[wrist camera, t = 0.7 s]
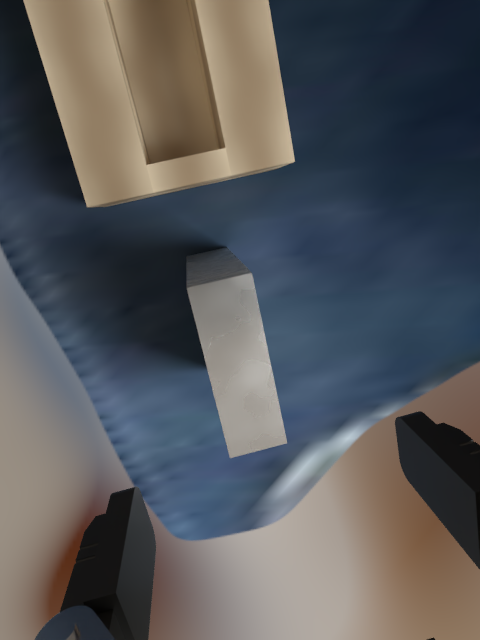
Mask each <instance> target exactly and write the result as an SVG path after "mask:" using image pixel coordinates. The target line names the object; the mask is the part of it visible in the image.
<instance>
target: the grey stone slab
mask: <svg viewBox="0 0 480 640" xmlns="http://www.w3.org/2000/svg"><path fill="white" fill-rule="evenodd" d="M186 277H187V291H188V295H189V299H190V303H191V307H192V311H193V315H194V319H195V323H196V327H197V331H198V334H199V338H200V342H201V346H202V350H203V354H204V358H205V362H206V366H207V370H208V374H209V377H210V381H211V385H212V389H213V393H214V397H215V401H216V405H217V409H218V413H219V417H220V420H221V424H222V428H223V432H224V436H225V440H226V444H227V448H228V452H229V456H230V458H233V457H236V456H240V455H244V454H248V453H252V452H255V451H259V450H263V449H267V448H271V447H274V446H278V445H282V444H286V443H287V440H286V435H285V430H284V426H283V421H282V416H281V411H280V406H279V402H278V397H277V392H276V387H275V382H274V377H273V373H272V368H271V363H270V358H269V353H268V349H267V344H266V339H265V334H264V329H263V324H262V320H261V315H260V310H259V305H258V300H257V296H256V291H255V286H254V281H253V276H252V273H251V272H250V270H249V269H248V268H247V267H246V266H245V265H244V264H243V263H242V262H241V261H240V260H239V259H238V258H237V257H236V256H235V255H234V254H233V253H232V252H231V251H230V250H229V249H228V248H227V247H225V248H221V249H217V250H212V251H208V252H204V253H199V254H195V255H191V256H186Z"/></svg>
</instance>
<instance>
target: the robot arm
mask: <svg viewBox="0 0 480 640" xmlns="http://www.w3.org/2000/svg"><path fill="white" fill-rule="evenodd" d="M395 426H396V434H397V442H398V450H399V459H400V463H401V467H402V469H403V472H404V474H405V476H406V478H407V480H408V481H409V482H410V484H411V485H412V486H413V487H414V488H415V490H416V491H417V492H418V494H419V495H420V496H421V497H422V499H423V500H424V501H425V502H426V503H427V505H428V506H429V507H430V508H431V510H432V511H433V512H434V513H435V514H436V516H437V517H438V518H439V520H440V521H441V522H442V523H443V525H444V526H445V527H446V528H447V530H448V531H449V532H450V533H451V535H452V536H453V537H454V538H455V539H456V541H457V542H458V543H459V545H460V546H461V547H462V548H463V549H464V551H465V552H466V553H467V554H468V556H469V557H470V558H471V559H472V561H473V562H474V563H475V564H476V566H477V567H478V568H479V569H480V445H479V444H477V443H476V442H473V440H472V439H471V438H470V437H469V436H468V435H466V434H465V433H464V432H463V431H461V430H460V429H457V428H455V427H452V426H450V425H447V424H445V423H441V424H435V423H434V422H433V421H432V420H431V419H430V418H429V417H427V416H426V415H425V414H424V413H423V412H416V413H412V414H408V415H405V416H401V417H397V418H396V420H395ZM155 553H156V542H155V535H154V530H153V527H152V524H151V521H150V518H149V515H148V512H147V509H146V507H145V503H144V501H143V498H142V495H141V492H140V490H139V488H138V487H134V488H130V489H126V490H122V491H119V492H115V493H112V494H111V496H110V500H109V504H108V507H107V511H106V514H102V515H99V516H96V517H95V518H94V520H93V521H92V522H91V524H90V525H89V526H88V528H87V529H86V530H85V532H84V536H83V539H82V542H81V545H80V550H79V552H78V555H77V558H76V564H75V565H74V568H73V571H72V574H71V578H70V581H69V584H68V587H67V591H66V594H65V597H64V601H63V604H62V607H61V610H60V613H58V614H57V615H55V616H54V617H53V618H52V619H51V620H49V621H48V622H47V623H46V624H45V626H44V627H43V628H42V629H41V630H40V632H39V633H38V635H37V636H36V638H35V640H148V635H149V624H150V613H151V601H152V589H153V577H154V565H155ZM428 640H435V639H434V638H431V639H428Z"/></svg>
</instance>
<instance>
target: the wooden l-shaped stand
mask: <svg viewBox="0 0 480 640" xmlns="http://www.w3.org/2000/svg"><path fill="white" fill-rule="evenodd" d="M23 1H24V4H25V7H26V10H27V14H28V17H29V20H30V23H31V27H32V30H33V33H34V36H35V40H36V43H37V46H38V49H39V53H40V56H41V59H42V62H43V66H44V69H45V72H46V75H47V78H48V82H49V85H50V88H51V91H52V95H53V98H54V101H55V104H56V108H57V111H58V114H59V117H60V121H61V124H62V127H63V130H64V134H65V137H66V140H67V143H68V146H69V150H70V153H71V156H72V159H73V163H74V166H75V169H76V172H77V176H78V179H79V182H80V185H81V189H82V192H83V195H84V198H85V202H86V205H87V207H107V206H112V205H116V204H121V203H125V202H130V201H134V200H139V199H143V198H148V197H153V196H157V195H162V194H166V193H171V192H175V191H180V190H184V189H189V188H193V187H198V186H202V185H207V184H211V183H216V182H220V181H225V180H229V179H234V178H239V177H243V176H248V175H252V174H257V173H261V172H266V171H270V170H275V169H278V168H280V167H283V166H285V165H288V164H290V163H293V162H295V159H294V153H293V147H292V141H291V135H290V129H289V123H288V117H287V111H286V105H285V98H284V92H283V86H282V80H281V74H280V68H279V62H278V56H277V50H276V44H275V38H274V31H273V25H272V19H271V13H270V7H269V1H268V0H23Z"/></svg>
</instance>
